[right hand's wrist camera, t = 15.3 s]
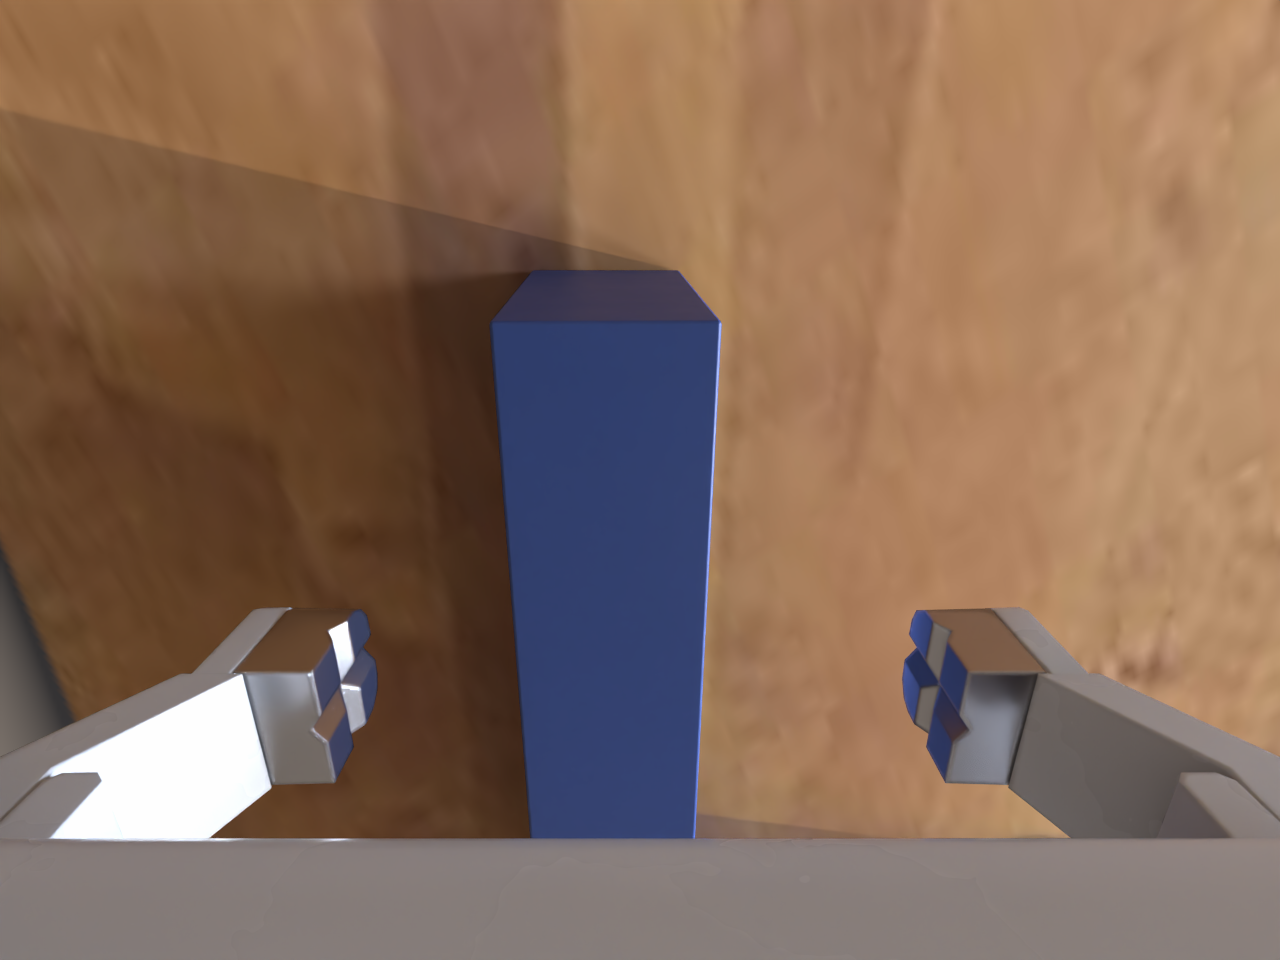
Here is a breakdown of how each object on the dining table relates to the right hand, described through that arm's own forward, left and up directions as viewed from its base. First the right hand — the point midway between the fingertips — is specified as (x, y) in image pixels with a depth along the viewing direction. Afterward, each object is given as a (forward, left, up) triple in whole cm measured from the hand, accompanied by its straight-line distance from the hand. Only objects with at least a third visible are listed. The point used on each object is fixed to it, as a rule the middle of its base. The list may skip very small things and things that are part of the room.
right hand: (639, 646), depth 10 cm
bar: (-4, +8, -14) cm, 17 cm away
